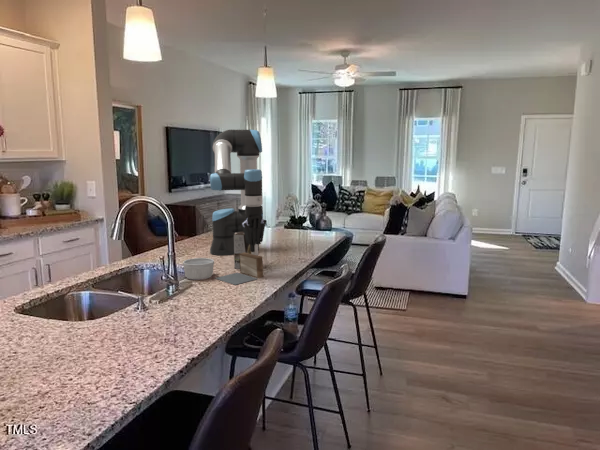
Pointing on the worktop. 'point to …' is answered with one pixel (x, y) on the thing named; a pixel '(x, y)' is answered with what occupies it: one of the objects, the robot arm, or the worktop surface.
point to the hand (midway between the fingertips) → (254, 258)
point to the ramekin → (198, 268)
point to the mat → (236, 278)
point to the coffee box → (240, 247)
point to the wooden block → (251, 265)
